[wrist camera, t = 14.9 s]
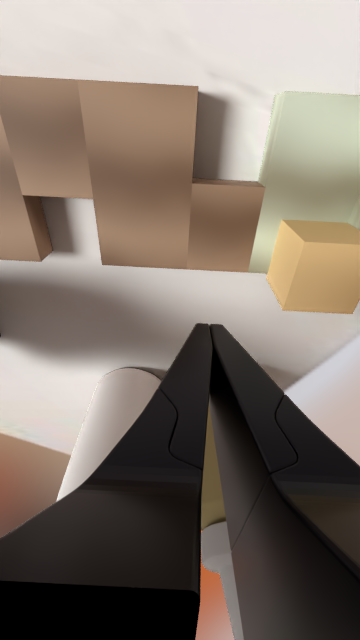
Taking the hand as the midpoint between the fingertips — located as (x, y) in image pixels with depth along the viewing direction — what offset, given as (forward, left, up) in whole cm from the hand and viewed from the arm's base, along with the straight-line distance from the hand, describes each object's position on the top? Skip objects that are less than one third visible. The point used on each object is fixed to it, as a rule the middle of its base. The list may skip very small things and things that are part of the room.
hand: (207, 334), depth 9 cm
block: (-1, -7, -10) cm, 12 cm away
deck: (+2, +4, -12) cm, 13 cm away
